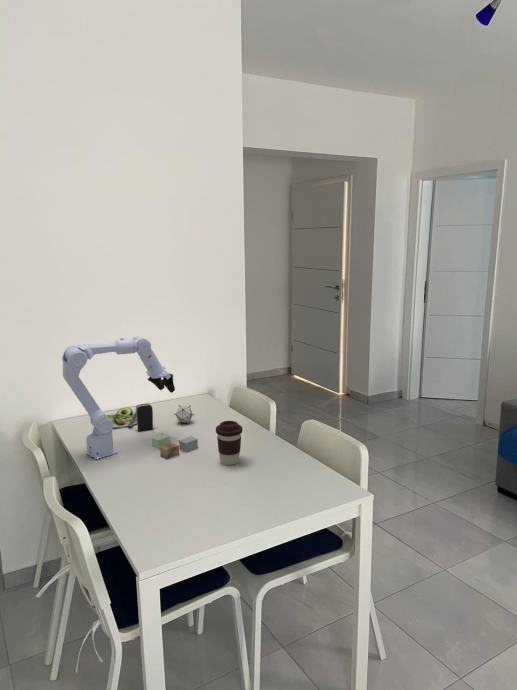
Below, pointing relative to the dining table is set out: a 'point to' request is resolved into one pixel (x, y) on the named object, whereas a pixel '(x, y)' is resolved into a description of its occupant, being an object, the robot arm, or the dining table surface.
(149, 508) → the dining table surface
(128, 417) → the salad plate
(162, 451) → the walnut brick
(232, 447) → the coffee cup
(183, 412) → the grey wireframe spiky ball
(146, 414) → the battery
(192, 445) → the grey brick
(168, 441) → the green brick
